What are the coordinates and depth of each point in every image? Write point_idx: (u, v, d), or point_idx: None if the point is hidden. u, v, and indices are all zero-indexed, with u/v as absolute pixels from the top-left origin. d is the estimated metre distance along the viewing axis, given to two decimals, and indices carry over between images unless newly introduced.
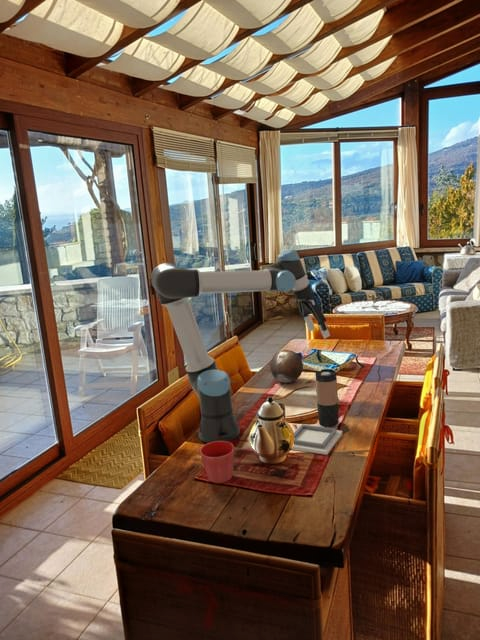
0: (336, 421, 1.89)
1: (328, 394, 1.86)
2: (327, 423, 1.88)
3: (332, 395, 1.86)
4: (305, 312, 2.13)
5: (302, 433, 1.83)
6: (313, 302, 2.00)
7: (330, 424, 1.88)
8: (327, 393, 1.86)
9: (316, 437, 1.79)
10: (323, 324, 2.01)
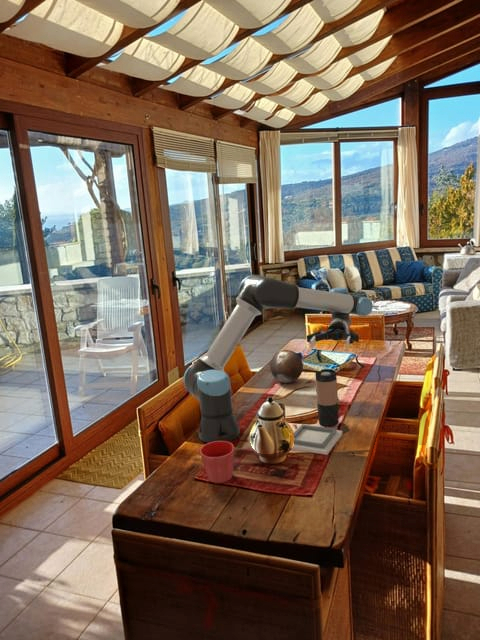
0: (336, 421, 1.89)
1: (328, 394, 1.86)
2: (327, 423, 1.88)
3: (332, 395, 1.86)
4: (318, 337, 2.05)
5: (302, 433, 1.83)
6: None
7: (330, 424, 1.88)
8: (327, 393, 1.86)
9: (316, 437, 1.79)
10: (353, 339, 1.98)
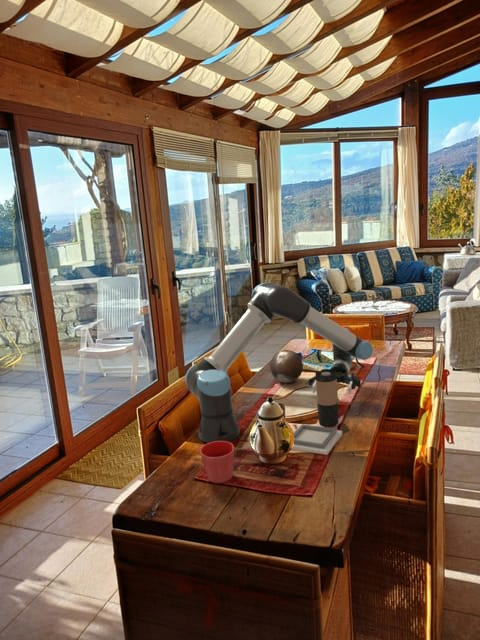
0: (336, 421, 1.89)
1: (328, 394, 1.86)
2: (327, 423, 1.88)
3: (332, 395, 1.86)
4: None
5: (302, 433, 1.83)
6: None
7: (330, 424, 1.88)
8: (327, 393, 1.86)
9: (316, 437, 1.79)
10: (355, 385, 1.98)
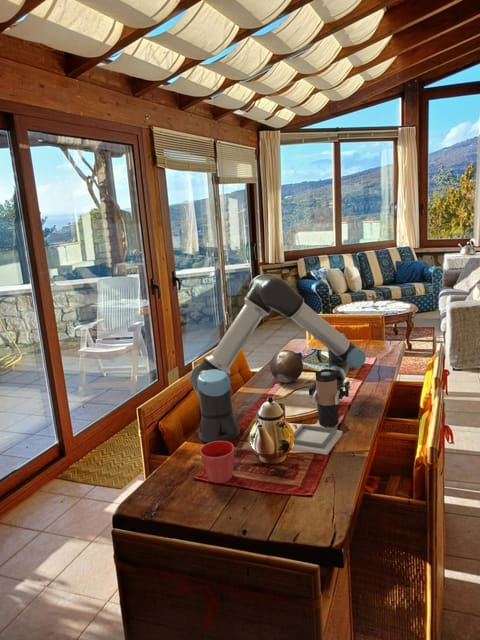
0: (336, 421, 1.89)
1: (328, 394, 1.86)
2: (327, 423, 1.88)
3: (332, 395, 1.86)
4: None
5: (302, 433, 1.83)
6: (349, 385, 1.98)
7: (330, 424, 1.88)
8: (327, 393, 1.86)
9: (316, 437, 1.79)
10: (343, 394, 1.89)
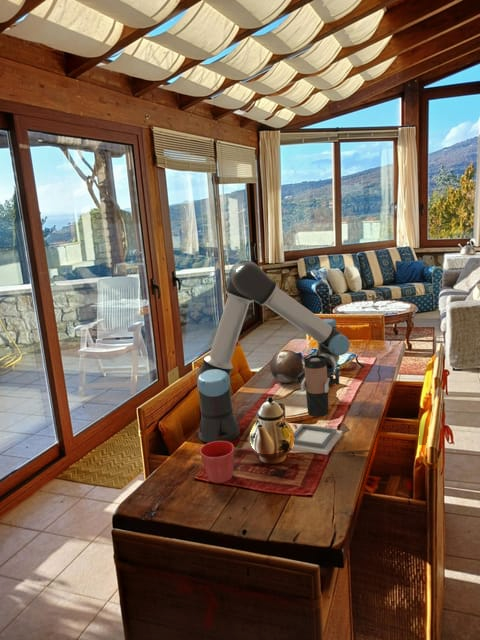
0: (326, 410, 1.78)
1: (317, 381, 1.74)
2: (317, 412, 1.77)
3: (321, 382, 1.75)
4: None
5: (302, 433, 1.83)
6: (339, 373, 1.87)
7: (319, 413, 1.77)
8: (316, 381, 1.74)
9: (316, 437, 1.79)
10: (333, 382, 1.78)
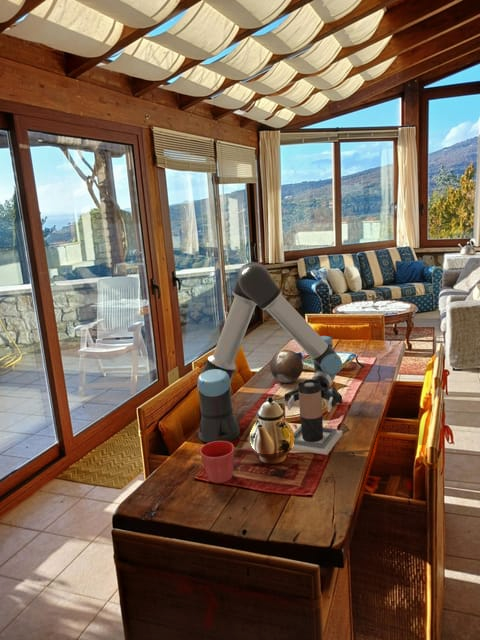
0: (320, 435, 1.77)
1: (311, 407, 1.73)
2: (311, 437, 1.76)
3: (316, 408, 1.73)
4: (298, 395, 1.84)
5: None
6: None
7: (314, 439, 1.76)
8: (310, 406, 1.73)
9: None
10: (336, 401, 1.76)
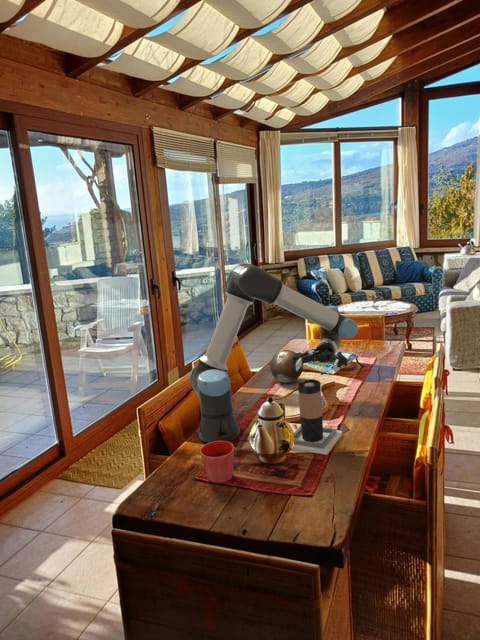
0: (320, 435, 1.77)
1: (311, 407, 1.73)
2: (311, 437, 1.76)
3: (315, 408, 1.73)
4: (305, 358, 1.94)
5: None
6: None
7: (314, 439, 1.76)
8: (310, 406, 1.73)
9: None
10: (341, 363, 1.86)
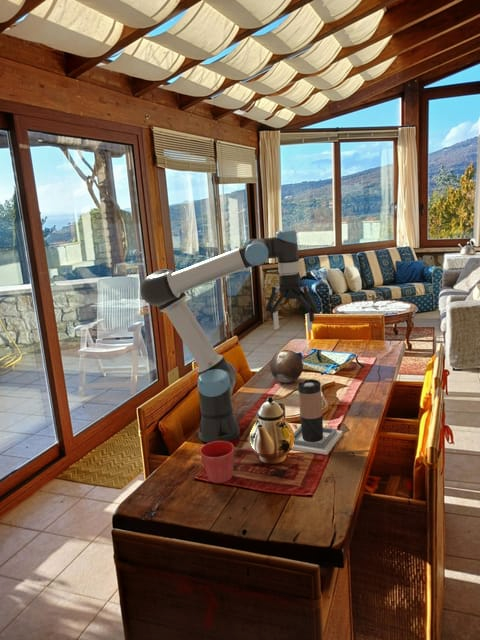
0: (320, 435, 1.77)
1: (311, 407, 1.73)
2: (311, 437, 1.76)
3: (315, 408, 1.73)
4: (277, 306, 1.94)
5: None
6: (307, 288, 1.87)
7: (314, 439, 1.76)
8: (310, 406, 1.73)
9: None
10: (313, 314, 1.88)
